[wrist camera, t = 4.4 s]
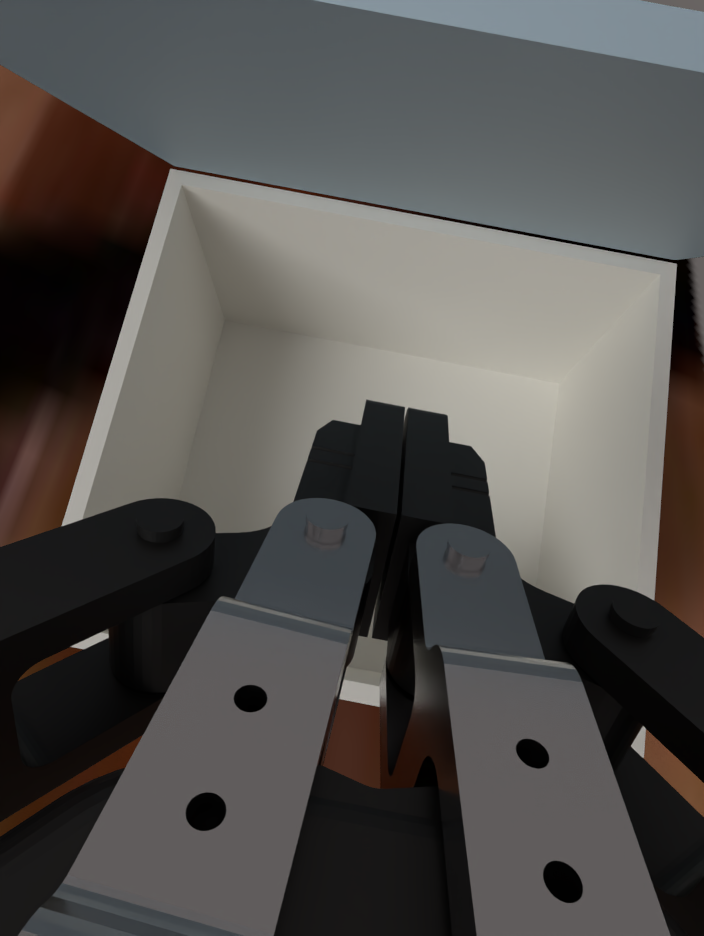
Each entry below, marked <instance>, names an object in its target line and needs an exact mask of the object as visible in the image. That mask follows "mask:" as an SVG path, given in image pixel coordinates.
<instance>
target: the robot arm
mask: <svg viewBox="0 0 704 936" xmlns="http://www.w3.org/2000/svg"><path fill="white" fill-rule="evenodd" d="M404 415H405V407H403V406H398V405H392V404H387V403H382V402H377V401H372V400H366V403H365V408H364V412H363V417H362V422H361V425H357V424H352V423H347V422H342V421H337V420H332V421H330V422H329V423H327V424H326V425H324V426H323V427H321V428H320V429H319V430H317V432H316V435H315V438H314V441H313V444H312V448H311V450H310V453H309V456H308V460H307V462H306V465H305V468H304V471H303V474H302V477H301V480H300V483H299V486H298V489H297V492H296V495H295V498H294V501H293V502H292V503H290V504H288V505H287V506H285V507H284V508H282V509H281V510H280V512H279V513H278V514H277V516H276V518H275V520H274V522H273V524H272V526H270V527H268V528H265V529H261V530H257V531H251V532H240V533H216V527H215V524H214V521H213V520H212V518H211V516H210V515H209V514H208V513H207V512H206V511H204V510H203V509H201V508H200V507H198V506H196V505H194V504H191V503H188V502H185V501H181V500H177V499H169V498H153V499H145V500H139V501H136V502H132V503H129V504H126V505H123V506H120V507H117V508H114V509H111V510H109V511H106V512H103V513H100V514H97V515H94V516H91V517H88V518H85V519H82V520H79V521H76V522H73V523H70V524H67V525H64V526H61V527H59V528H56V529H53V530H50V531H47V532H44V533H41V534H38V535H35V536H32V537H29V538H26V539H23V540H20V541H17V542H14V543H11V544H9V545H6V546H3V547H0V822H1V821H2V820H4V819H6V818H7V817H9V816H11V815H12V814H14V813H15V812H17V811H19V810H20V809H22V808H24V807H25V806H27V805H29V804H30V803H32V802H33V801H35V800H37V799H38V798H40V797H42V796H43V795H45V794H47V793H48V792H50V791H52V790H53V789H55V788H56V787H58V786H60V785H61V784H63V783H65V782H66V781H68V780H70V779H71V778H73V777H74V776H76V775H78V774H79V773H81V772H83V771H84V770H86V769H88V768H89V767H91V766H92V765H94V764H96V763H97V762H99V761H101V760H102V759H104V758H106V757H107V756H109V755H110V754H112V753H114V752H115V751H117V750H119V749H120V748H122V747H124V746H125V745H127V744H128V743H130V742H132V741H133V740H135V739H137V738H138V737H140V736H142V735H143V734H144V735H143V736H142V738H141V740H140V742H139V744H138V746H137V747H136V749H135V751H134V753H133V755H132V757H131V759H130V760H129V762H128V764H127V766H126V768H123V769H120V770H116V771H114V772H111V773H109V774H106V775H104V776H101V777H98V778H96V779H93V780H91V781H89V782H87V783H85V784H84V785H82V786H80V787H78V788H76V789H74V790H72V791H70V792H68V793H67V794H65V795H63V796H62V797H60V798H58V799H57V800H55V801H54V802H52V803H51V804H49V805H48V806H46V807H45V808H43V809H42V810H40V811H39V812H37V813H36V814H34V815H33V816H31V817H29V818H28V819H26V820H25V821H23V822H22V823H20V824H19V825H17V826H16V827H14V828H13V829H11V830H10V831H8V832H7V833H5V834H4V835H2V836H1V837H0V936H704V817H703V816H702V815H701V814H700V813H699V812H697V811H696V810H695V809H694V808H693V807H692V806H691V805H690V804H689V803H688V802H687V801H686V800H685V799H684V798H683V797H682V796H681V795H680V794H679V793H678V792H677V791H676V790H675V789H674V788H673V787H672V786H671V785H670V784H669V783H668V782H667V781H666V780H665V779H664V778H663V777H662V776H661V775H660V774H659V773H658V772H657V771H656V770H655V769H654V768H652V767H651V766H650V765H649V764H648V763H647V762H646V761H645V760H644V759H643V758H642V757H641V756H640V755H639V754H638V753H637V752H636V751H635V750H634V749H633V748H632V747H631V745H632V743H633V742H634V740H635V738H636V737H637V735H638V733H639V732H640V730H641V728H642V727H643V726H644V727H645V728H646V729H647V730H648V731H649V732H650V733H651V734H652V735H653V736H654V737H655V738H656V739H658V740H659V741H660V742H661V743H662V744H663V745H664V746H665V747H666V748H667V749H668V750H669V751H670V752H671V753H672V754H674V755H675V756H676V757H677V758H678V759H679V760H680V761H681V762H682V763H683V764H684V765H685V766H686V767H687V768H688V769H690V770H691V771H692V772H693V773H694V774H695V775H696V776H697V777H698V778H699V779H700V780H701V781H702V782H703V783H704V638H703V637H702V636H701V635H699V634H698V633H697V632H695V631H694V630H693V629H691V628H690V627H689V626H688V625H686V624H685V623H684V622H682V621H681V620H680V619H678V618H677V617H676V616H674V615H673V614H672V613H671V612H669V611H668V610H667V609H665V608H664V607H663V606H661V605H660V604H658V603H657V602H656V601H654V600H652V599H650V598H649V597H647V596H645V595H643V594H641V593H639V592H636V591H633V590H631V589H628V588H624V587H620V586H615V585H605V584H601V585H593V586H590V587H587V588H585V589H583V590H582V591H581V592H580V593H579V595H578V596H577V598H576V601H575V603H572V602H569V601H567V600H564V599H562V598H559V597H557V596H555V595H552V594H550V593H547V592H545V591H543V590H541V589H538V588H536V587H534V586H533V585H531V584H529V583H527V582H526V581H524V580H523V579H521V577H520V573H519V570H518V567H517V563H516V560H515V558H514V556H513V554H512V553H511V551H510V550H509V549H508V548H507V547H506V545H505V544H503V543H502V542H501V541H500V540H498V539H497V538H496V534H495V528H494V521H493V514H492V508H491V501H490V496H489V488H488V482H487V474H486V468H485V462H484V461H483V460H482V459H481V457H480V456H479V455H478V454H477V453H476V451H475V450H474V449H473V448H472V447H471V446H468V445H463V444H457V443H452V442H449V429H448V416H447V415H445V414H440V413H435V412H430V411H425V410H419V409H414V408H409V407H408V409H407V412H406V416H405V420H404ZM374 608H375V612H374ZM373 612H374V622H373V631H372V638H374V639H379V640H384V641H388V642H387V655H386V659H385V663H384V666H383V670H382V674H381V678H380V685H379V689H380V789H377V788H372V787H369V786H366V785H363V784H361V783H359V782H357V781H354V780H352V779H350V778H348V777H346V776H344V775H341V774H339V773H337V772H335V771H333V770H330V769H328V768H326V767H324V766H323V764H324V759H325V755H326V751H327V747H328V743H329V739H330V735H331V731H332V727H333V723H334V719H335V715H336V710H337V706H338V702H339V698H340V694H341V690H342V686H343V682H344V678H345V673H346V669H347V666H348V665H349V664H350V663H351V661H352V659H353V657H354V653H355V649H356V645H357V640H358V636H362V637H368V633H369V629H370V625H371V621H372V616H373ZM107 629H108V635H109V638H107V639H105V640H103V641H101V642H98V643H96V644H94V645H92V646H90V647H88V648H86V649H84V650H82V651H80V652H78V653H76V654H73V655H71V656H69V657H67V658H65V659H63V660H61V661H59V662H57V663H55V664H53V665H51V666H48V667H46V668H44V669H42V670H40V671H38V672H36V673H34V674H32V675H30V676H28V677H26V678H24V679H21V680H19V678H20V677H21V676H22V675H23V674H24V673H25V672H26V671H27V670H28V669H29V668H30V667H32V666H33V665H35V664H36V663H38V662H39V661H41V660H43V659H45V658H47V657H50V656H52V655H54V654H56V653H58V652H60V651H62V650H64V649H67V648H69V647H71V646H73V645H75V644H77V643H79V642H81V641H84V640H86V639H88V638H90V637H92V636H94V635H96V634H98V633H101V632H103V631H105V630H107ZM18 680H19V681H18Z"/></svg>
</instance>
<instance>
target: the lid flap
mask: <svg viewBox="0 0 704 936" xmlns="http://www.w3.org/2000/svg"><path fill="white" fill-rule="evenodd" d="M0 65H2V66H3V67H5V68H7V69H9V70H10V71H12V72H14V73H15V74H17V75H19V76H21V77H22V78H24V79H26V80H27V81H29V82H31V83H33V84H34V85H36V86H38V87H39V88H41V89H43V90H45V91H46V92H48V93H50V94H52V95H53V96H55V97H57V98H58V99H60V100H62V101H64V102H65V103H67V104H69V105H70V106H72V107H74V108H76V109H77V110H79V111H81V112H82V113H84V114H86V115H88V116H89V117H91V118H93V119H94V120H96V121H98V122H100V123H101V124H103V125H105V126H106V127H108V128H110V129H112V130H113V131H115V132H117V133H118V134H120V135H122V136H124V137H125V138H127V139H129V140H130V141H132V142H134V143H136V144H137V145H139V146H141V147H142V148H144V149H146V150H148V151H149V152H151V153H153V154H154V155H156V156H158V157H160V158H161V159H163V160H165V161H166V162H168V163H170V164H172V165H173V166H176V167H182V168H187V169H192V170H198V171H203V172H208V173H214V174H219V175H224V176H230V177H235V178H240V179H246V180H251V181H256V182H262V183H267V184H272V185H278V186H283V187H288V188H294V189H299V190H304V191H310V192H315V193H320V194H326V195H331V196H336V197H342V198H347V199H352V200H358V201H363V202H368V203H374V204H379V205H384V206H389V207H395V208H400V209H405V210H411V211H416V212H421V213H427V214H432V215H437V216H443V217H448V218H453V219H459V220H464V221H469V222H475V223H480V224H485V225H491V226H496V227H501V228H507V229H512V230H517V231H523V232H528V233H533V234H539V235H544V236H549V237H555V238H560V239H565V240H571V241H576V242H581V243H587V244H592V245H597V246H603V247H608V248H613V249H619V250H624V251H629V252H634V253H640V254H645V255H650V256H656V257H661V258H666V259H672V260H679V259H688V258H697V257H704V12H700V11H695V10H689V9H684V8H678V7H673V6H668V5H662V4H657V3H651V2H646V1H640V0H0Z"/></svg>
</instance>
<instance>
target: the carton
mask: <svg viewBox="0 0 704 936" xmlns="http://www.w3.org/2000/svg"><path fill="white" fill-rule="evenodd" d="M676 270H677V264H675V263H670V262H664V261H659V260H654V259H648V258H643V257H638V256H632V255H627V254H622V253H616V252H611V251H606V250H601V249H595V248H590V247H585V246H579V245H574V244H569V243H563V242H558V241H553V240H547V239H542V238H537V237H531V236H526V235H521V234H515V233H510V232H505V231H499V230H494V229H489V228H483V227H478V226H473V225H467V224H462V223H457V222H451V221H446V220H441V219H435V218H430V217H425V216H419V215H414V214H409V213H404V212H398V211H393V210H388V209H382V208H377V207H372V206H366V205H361V204H356V203H350V202H345V201H340V200H334V199H329V198H324V197H318V196H313V195H308V194H302V193H297V192H292V191H286V190H281V189H276V188H270V187H265V186H260V185H254V184H249V183H244V182H238V181H233V180H228V179H222V178H217V177H212V176H206V175H201V174H196V173H191V172H185V171H180V170H175V169H170V172H169V175H168V178H167V182H166V185H165V188H164V191H163V195H162V198H161V201H160V205H159V208H158V211H157V214H156V218H155V221H154V224H153V228H152V231H151V234H150V237H149V241H148V244H147V247H146V251H145V254H144V257H143V261H142V264H141V267H140V270H139V274H138V277H137V280H136V284H135V287H134V290H133V293H132V297H131V300H130V303H129V307H128V310H127V313H126V316H125V320H124V323H123V326H122V330H121V333H120V336H119V339H118V343H117V346H116V349H115V353H114V356H113V359H112V362H111V366H110V369H109V372H108V376H107V379H106V382H105V385H104V389H103V392H102V395H101V399H100V402H99V405H98V408H97V412H96V415H95V418H94V422H93V425H92V428H91V431H90V435H89V438H88V441H87V445H86V448H85V451H84V454H83V458H82V461H81V464H80V468H79V471H78V474H77V477H76V481H75V484H74V487H73V491H72V494H71V497H70V500H69V504H68V507H67V510H66V514H65V517H64V520H63V523H62V526H64V525H67V524H70V523H73V522H76V521H79V520H82V519H85V518H88V517H91V516H94V515H97V514H100V513H103V512H106V511H109V510H111V509H114V508H117V507H120V506H123V505H126V504H129V503H132V502H136V501H139V500H145V499H153V498H169V499H177V500H181V501H185V502H188V503H191V504H194V505H196V506H198V507H200V508H201V509H203V510H204V511H206V512H207V513H208V514H209V515H210V516H211V518H212V520H213V521H214V524H215V527H216V533H240V532H251V531H257V530H261V529H265V528H268V527H270V526H272V524H273V522H274V520H275V518H276V516H277V514H278V513H279V512H280V510H281V509H282V508H284V507H285V506H287V505H288V504H290V503H292V502H293V501H294V498H295V495H296V492H297V489H298V486H299V483H300V480H301V477H302V474H303V471H304V468H305V465H306V462H307V460H308V456H309V453H310V450H311V448H312V444H313V441H314V438H315V435H316V432H317V430H319V429H320V428H321V427H323V426H324V425H326V424H327V423H329V422H330V421H332V420H337V421H342V422H347V423H352V424H357V425H361V422H362V417H363V412H364V408H365V403H366V400H372V401H377V402H382V403H387V404H392V405H398V406H403V407H405V415H404V420H405V416H406V412H407V409H408V407H409V408H414V409H419V410H425V411H430V412H435V413H440V414H445V415H447V416H448V429H449V442H452V443H457V444H463V445H468V446H471V447H472V448H473V449H474V450H475V451H476V453H477V454H478V455H479V456H480V457H481V459H482V460H483V461H484V462H485V468H486V474H487V482H488V488H489V496H490V501H491V508H492V514H493V521H494V528H495V534H496V538H497V539H498V540H500V541H501V542H502V543H503V544H505V545H506V547H507V548H508V549H509V550H510V551H511V553H512V554H513V556H514V558H515V560H516V563H517V567H518V570H519V573H520V577H521V579H523V580H524V581H526V582H527V583H529V584H531V585H533V586H534V587H536V588H538V589H541V590H543V591H545V592H547V593H550V594H552V595H555V596H557V597H559V598H562V599H564V600H567V601H569V602H572V603H575V601H576V598H577V596H578V595H579V593H580V592H581V591H582V590H583V589H585V588H587V587H590V586H593V585H601V584H605V585H615V586H620V587H624V588H628V589H631V590H633V591H636V592H639V593H641V594H643V595H645V596H647V597H649V598H650V599H652V600H654V598H655V583H656V568H657V553H658V538H659V523H660V509H661V494H662V479H663V464H664V449H665V434H666V419H667V404H668V389H669V374H670V359H671V344H672V329H673V315H674V300H675V285H676ZM374 612H375V608H374ZM374 612H373V616H372V621H371V625H370V629H369V633H368V637H362V636H358V640H357V645H356V649H355V653H354V657H353V659H352V661H351V663H350V664H349V665H348V666H347V669H346V673H345V678H344V682H343V686H342V690H341V694H340V698H339V699H343V700H348V701H353V702H358V703H363V704H368V705H373V706H379V707H380V689H379V685H380V678H381V674H382V670H383V666H384V663H385V659H386V655H387V642H388V641H384V640H379V639H374V638H372V631H373V622H374ZM107 638H109V635H108V629H107V630H105V631H103V632H101V633H98V634H96V635H94V636H92V637H90V638H88V639H86V640H84V641H81V642H79V643H77V644H75V645H73V646H71V647H75V648H80V649H86V648H88V647H90V646H92V645H94V644H96V643H98V642H101V641H103V640H105V639H107ZM645 732H646V728H645V727H644V726H643V727H642V728H641V730H640V732H639V733H638V735H637V737H636V738H635V740H634V742H633V743H632V745H631V747H632V748H633V749H634V750H635V751H636V752H637V753H638V754H639V755H640V756H641V757H642V758H644V747H645Z"/></svg>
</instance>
